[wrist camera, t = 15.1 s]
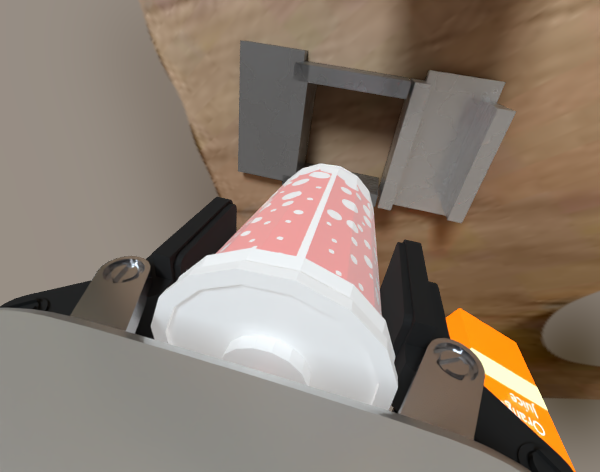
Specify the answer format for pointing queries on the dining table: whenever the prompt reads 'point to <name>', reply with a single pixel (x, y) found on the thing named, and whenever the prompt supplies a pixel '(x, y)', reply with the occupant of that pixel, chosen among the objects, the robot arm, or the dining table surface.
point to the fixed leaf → (292, 107)
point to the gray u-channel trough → (444, 144)
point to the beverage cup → (293, 292)
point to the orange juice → (506, 375)
